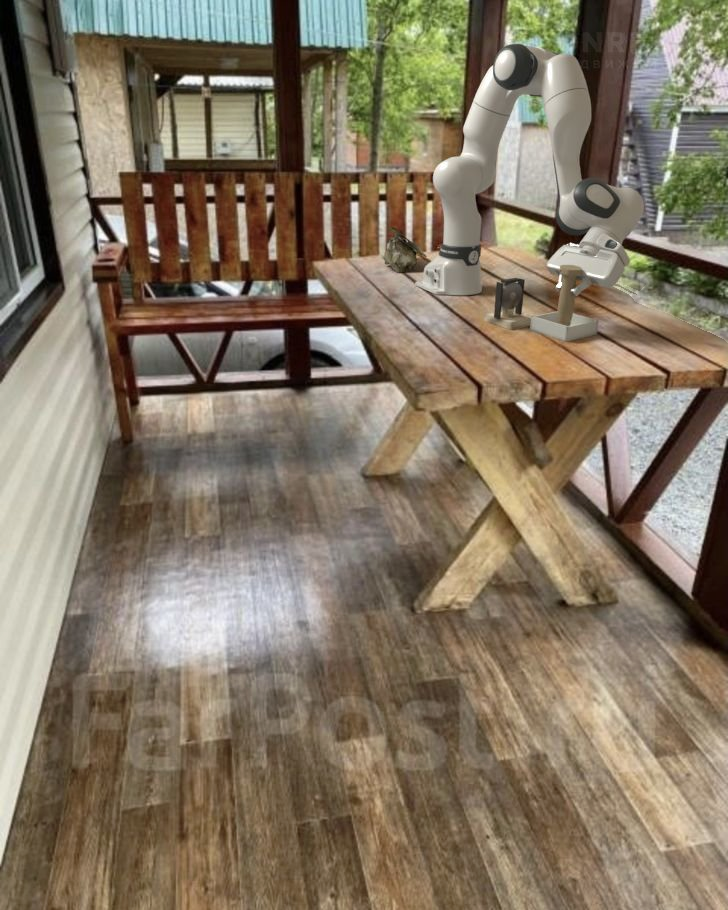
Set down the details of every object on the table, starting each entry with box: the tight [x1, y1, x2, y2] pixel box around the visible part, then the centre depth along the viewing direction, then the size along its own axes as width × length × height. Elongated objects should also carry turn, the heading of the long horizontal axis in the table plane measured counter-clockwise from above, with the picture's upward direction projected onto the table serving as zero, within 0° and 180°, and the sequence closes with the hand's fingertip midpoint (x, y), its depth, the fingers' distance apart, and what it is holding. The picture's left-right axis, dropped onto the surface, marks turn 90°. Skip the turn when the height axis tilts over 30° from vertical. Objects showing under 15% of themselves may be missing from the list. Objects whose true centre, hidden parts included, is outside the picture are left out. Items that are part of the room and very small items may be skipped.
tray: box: [529, 310, 599, 342], centre depth 186 cm, size 12×11×4 cm
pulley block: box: [484, 277, 531, 331], centre depth 192 cm, size 10×8×12 cm
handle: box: [557, 265, 582, 326], centre depth 184 cm, size 5×6×15 cm
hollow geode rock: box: [383, 226, 428, 273], centre depth 262 cm, size 28×13×15 cm
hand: (565, 292), depth 183 cm, fingers closed on handle, 3 cm apart
